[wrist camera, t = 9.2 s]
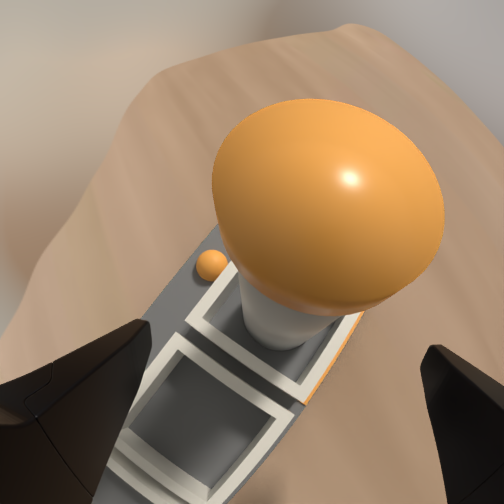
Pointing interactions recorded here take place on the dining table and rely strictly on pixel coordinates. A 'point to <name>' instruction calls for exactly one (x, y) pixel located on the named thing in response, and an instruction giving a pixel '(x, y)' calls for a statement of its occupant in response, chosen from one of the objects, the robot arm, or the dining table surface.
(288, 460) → the dining table surface
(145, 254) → the dining table surface
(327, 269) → the plug
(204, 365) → the grey compartment tray
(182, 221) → the dining table surface
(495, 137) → the dining table surface
